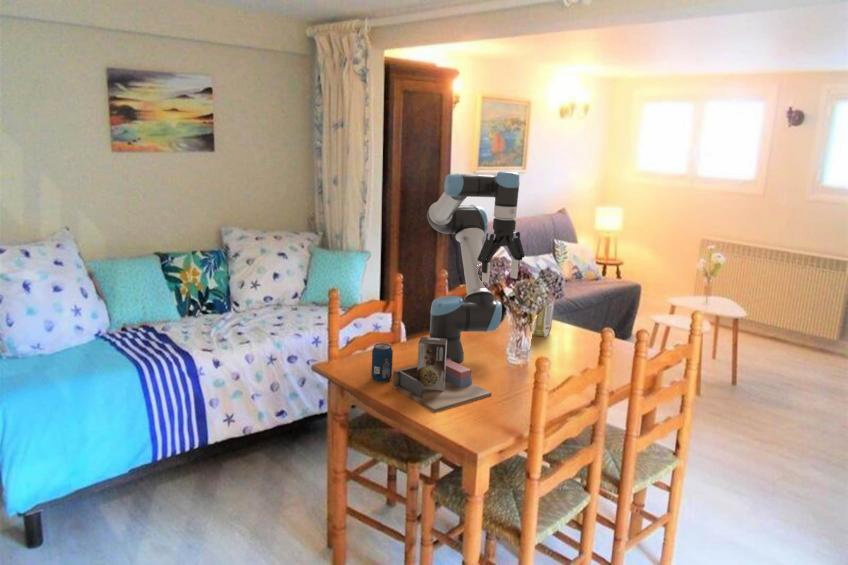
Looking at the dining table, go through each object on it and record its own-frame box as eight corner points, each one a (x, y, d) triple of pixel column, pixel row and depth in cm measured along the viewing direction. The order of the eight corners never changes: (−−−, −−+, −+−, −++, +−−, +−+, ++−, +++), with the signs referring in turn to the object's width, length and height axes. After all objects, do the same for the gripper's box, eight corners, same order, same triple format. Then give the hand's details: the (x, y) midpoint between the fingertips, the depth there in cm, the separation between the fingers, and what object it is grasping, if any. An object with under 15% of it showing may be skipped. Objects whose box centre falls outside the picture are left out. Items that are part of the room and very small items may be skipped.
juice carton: (551, 333, 277) (556, 291, 272) (547, 338, 269) (551, 295, 265) (534, 330, 280) (538, 288, 275) (529, 335, 272) (533, 292, 268)
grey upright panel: (398, 385, 209) (398, 371, 208) (400, 385, 209) (400, 371, 208) (420, 398, 200) (421, 383, 199) (422, 397, 200) (423, 383, 199)
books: (437, 375, 219) (438, 362, 218) (448, 372, 222) (449, 359, 221) (460, 387, 210) (461, 373, 209) (471, 384, 213) (472, 370, 212)
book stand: (392, 387, 210) (393, 370, 208) (447, 373, 224) (448, 357, 223) (434, 412, 193) (435, 394, 191) (491, 395, 208) (492, 378, 206)
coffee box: (445, 384, 212) (448, 338, 209) (443, 391, 206) (446, 344, 202) (418, 381, 213) (420, 335, 210) (415, 388, 207) (418, 342, 203)
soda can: (378, 373, 221) (379, 341, 218) (395, 378, 218) (396, 345, 215) (367, 380, 215) (368, 346, 212) (384, 384, 212) (386, 350, 209)
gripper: (485, 221, 202) (480, 286, 207) (538, 218, 217) (532, 278, 222) (469, 218, 207) (465, 281, 212) (522, 215, 223) (516, 274, 228)
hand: (499, 280), depth 217 cm, fingers open, 13 cm apart
